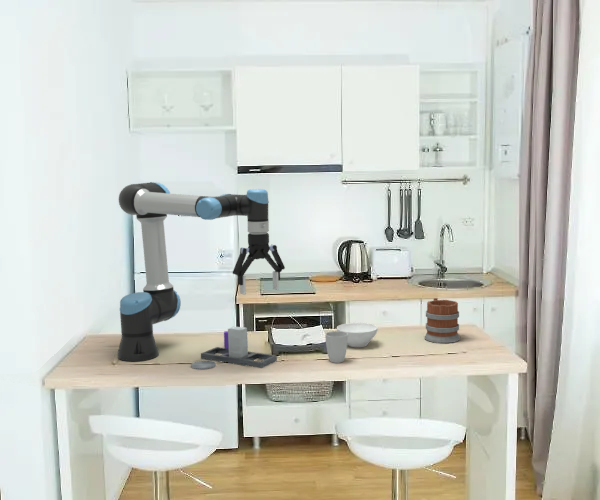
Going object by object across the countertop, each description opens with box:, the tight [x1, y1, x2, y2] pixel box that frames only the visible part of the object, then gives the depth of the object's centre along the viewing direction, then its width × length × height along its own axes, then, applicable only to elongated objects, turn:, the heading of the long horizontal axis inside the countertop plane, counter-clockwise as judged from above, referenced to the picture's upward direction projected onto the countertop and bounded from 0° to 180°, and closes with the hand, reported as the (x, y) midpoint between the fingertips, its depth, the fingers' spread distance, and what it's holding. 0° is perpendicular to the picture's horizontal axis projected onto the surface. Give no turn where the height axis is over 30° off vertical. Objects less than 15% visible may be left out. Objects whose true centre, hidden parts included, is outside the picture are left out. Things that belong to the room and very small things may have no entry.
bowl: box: [336, 322, 379, 348], centre depth 298 cm, size 16×16×7 cm
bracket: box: [223, 330, 229, 349], centre depth 302 cm, size 12×7×7 cm, turn 175°
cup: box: [324, 330, 348, 364], centre depth 277 cm, size 8×8×10 cm
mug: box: [424, 297, 461, 344], centre depth 307 cm, size 14×19×15 cm
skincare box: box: [227, 326, 249, 358], centre depth 281 cm, size 6×4×12 cm
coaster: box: [190, 360, 217, 370], centre depth 275 cm, size 9×9×1 cm
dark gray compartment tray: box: [200, 346, 278, 369], centre depth 281 cm, size 27×10×2 cm, turn 60°
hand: (259, 291), depth 274 cm, fingers open, 13 cm apart
